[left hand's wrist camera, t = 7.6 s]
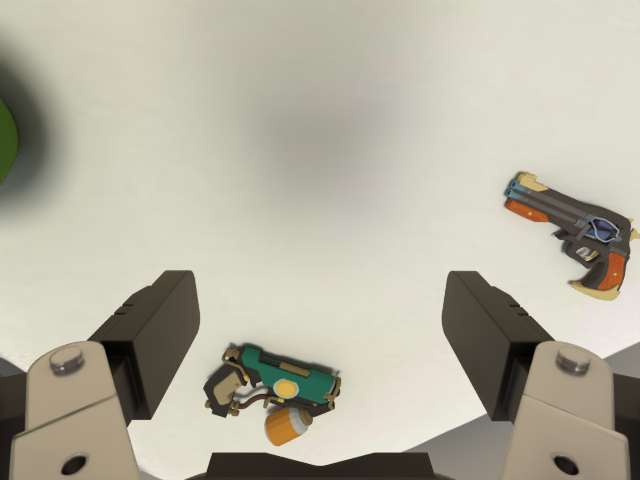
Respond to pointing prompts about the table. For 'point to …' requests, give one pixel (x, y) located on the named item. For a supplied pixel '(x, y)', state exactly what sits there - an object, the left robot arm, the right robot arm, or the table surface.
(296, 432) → the spray gun
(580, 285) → the toy gun
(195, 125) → the table surface
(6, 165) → the vase
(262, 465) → the left robot arm
